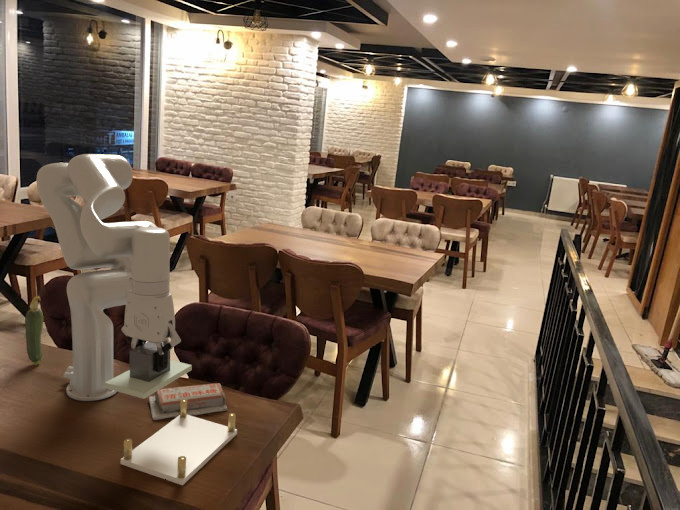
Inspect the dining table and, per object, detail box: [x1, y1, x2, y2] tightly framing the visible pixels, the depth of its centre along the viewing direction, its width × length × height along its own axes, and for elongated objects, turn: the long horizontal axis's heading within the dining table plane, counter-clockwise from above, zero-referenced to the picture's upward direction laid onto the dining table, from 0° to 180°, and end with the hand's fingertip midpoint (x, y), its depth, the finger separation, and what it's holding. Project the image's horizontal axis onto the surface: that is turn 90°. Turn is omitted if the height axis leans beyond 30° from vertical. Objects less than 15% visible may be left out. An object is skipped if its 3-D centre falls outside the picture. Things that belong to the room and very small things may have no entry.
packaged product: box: [148, 382, 228, 421], centre depth 140 cm, size 18×5×10 cm
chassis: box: [120, 399, 238, 486], centre depth 122 cm, size 15×21×5 cm
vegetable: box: [24, 295, 44, 366], centre depth 152 cm, size 4×4×20 cm
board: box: [105, 341, 193, 399], centre depth 120 cm, size 10×16×7 cm, turn 159°
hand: (150, 366), depth 120 cm, fingers closed on board, 5 cm apart
